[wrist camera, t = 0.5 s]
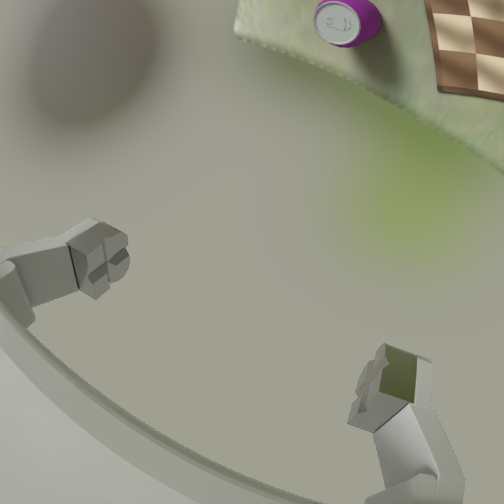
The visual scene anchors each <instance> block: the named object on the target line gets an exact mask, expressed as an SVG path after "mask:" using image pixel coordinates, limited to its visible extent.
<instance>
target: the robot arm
mask: <svg viewBox="0 0 504 504" xmlns="http://www.w3.org/2000/svg"><path fill="white" fill-rule="evenodd" d="M127 245H128V238H127V235H126V234H125V233H124V232H122V231H120V230H118V229H116V228H114V227H112V226H110V225H108V224H106V223H104V222H102V221H100V220H98V219H96V218H88V219H86V220H85V221H83V222H81V223H80V224H78V225H76V226H75V227H73V228H72V229H70V230H68V231H67V232H65V233H64V234H62V235H60V236H59V237H57V238H56V237H49V238H44V239H39V240H34V241H30V242H25V243H20V244H15V245H11V246H6V247H2V248H0V504H324V503H321V502H318V501H314V500H311V499H308V498H304V497H301V496H298V495H295V494H292V493H289V492H286V491H283V490H281V489H278V488H275V487H273V486H270V485H267V484H264V483H262V482H259V481H257V480H255V479H252V478H250V477H247V476H244V475H243V474H240V473H238V472H236V471H234V470H231V469H229V468H227V467H225V466H223V465H220V464H218V463H216V462H214V461H212V460H210V459H208V458H206V457H204V456H202V455H200V454H198V453H196V452H194V451H192V450H191V449H189V448H187V447H185V446H183V445H181V444H179V443H178V442H176V441H174V440H172V439H171V438H169V437H167V436H166V435H164V434H162V433H161V432H159V431H157V430H155V429H154V428H152V427H151V426H149V425H147V424H146V423H144V422H143V421H141V420H140V419H138V418H136V417H135V416H133V415H132V414H130V413H129V412H127V411H126V410H125V409H123V408H122V407H120V406H119V405H117V404H116V403H114V402H113V401H112V400H110V399H109V398H107V397H106V396H105V395H103V394H102V393H101V392H99V391H98V390H97V389H95V388H94V387H93V386H91V385H90V384H89V383H88V382H86V381H85V380H84V379H83V378H81V377H80V376H79V375H78V374H76V373H75V372H74V371H73V370H71V369H70V368H69V367H68V366H67V365H66V364H64V363H63V362H62V361H61V360H60V359H59V358H57V357H56V356H55V355H54V354H53V353H52V352H51V351H50V350H49V349H47V348H46V347H45V346H44V345H43V344H42V343H41V342H40V341H39V340H38V339H37V338H36V337H35V336H34V335H33V334H32V333H31V332H29V330H28V329H27V327H29V326H30V325H31V324H32V323H33V322H34V321H35V318H36V317H35V315H34V312H33V310H32V307H35V306H38V305H40V304H43V303H46V302H49V301H52V300H54V299H57V298H60V297H63V296H65V295H68V294H71V293H73V292H76V291H78V290H81V291H82V292H84V293H85V294H87V295H88V296H90V297H92V298H93V299H95V300H97V299H98V298H99V297H100V296H101V295H102V294H104V293H105V292H106V291H107V290H108V289H109V288H110V283H112V282H116V281H119V280H120V279H121V278H122V277H123V276H124V275H125V273H126V272H127V270H128V268H129V263H130V259H129V254H128V252H127V250H126V247H127ZM356 393H357V396H358V398H357V399H356V400H355V401H354V403H353V404H352V407H351V411H350V414H349V418H348V422H347V424H349V425H352V426H355V427H358V428H360V429H363V430H366V431H369V432H372V433H374V434H373V437H374V441H375V445H376V449H377V453H378V457H379V461H380V466H381V470H382V474H383V479H384V483H385V488H386V490H384V491H381V492H379V493H377V494H374V495H372V496H370V497H368V498H366V500H365V504H462V502H463V495H464V487H465V477H464V474H463V472H462V469H461V467H460V464H459V462H458V460H457V457H456V455H455V453H454V450H453V449H452V446H451V444H450V441H449V439H448V437H447V435H446V432H445V430H444V428H443V426H442V424H441V422H440V420H439V418H438V415H437V413H436V411H434V410H431V401H432V361H431V360H430V359H427V358H424V357H421V356H419V355H415V354H412V353H410V352H407V351H404V350H401V349H399V348H396V347H393V346H390V345H388V344H385V343H384V344H382V345H381V346H380V347H379V349H378V350H377V351H376V356H375V359H374V360H371V361H369V362H368V364H367V365H366V367H365V368H364V370H363V372H362V374H361V376H360V378H359V381H358V384H357V388H356Z"/></svg>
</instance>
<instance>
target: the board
mask: <svg viewBox="0 0 504 504" xmlns="http://www.w3.org/2000/svg"><path fill="white" fill-rule="evenodd" d="M424 4H425V9H426V13H427V18H428V23H429V29H430V34H431V40H432V47H433V54H434V61H435V69H436V79H437V90H438V91H444V92H453V93H462V94H469V95H476V96H482V97H488V98H494V99H500V100H504V0H424Z"/></svg>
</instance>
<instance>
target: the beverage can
mask: <svg viewBox="0 0 504 504" xmlns="http://www.w3.org/2000/svg"><path fill="white" fill-rule="evenodd" d="M313 25H314V28H315V30H316V32H317V34H318V35H319V36H320V37H321V38H322V39H324V40H325V41H327V42H329V43H330V44H332V45H335V46H338V47H346V48H349V47H353V46H357V45H358V44H360V43H362V42H364V41H366V40H368V39H369V38H371V37H373V36H374V35H375V34H376V33H377V32H378V30H379V29H380V25H381V16H380V13H379V11H378V9H377V8H376V7H375V6H374V5H373V3H371V2H370V1H368V0H323V1H322V2H321V3H319V4H318V6H317V8H316V9H315V12H314V16H313Z"/></svg>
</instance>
